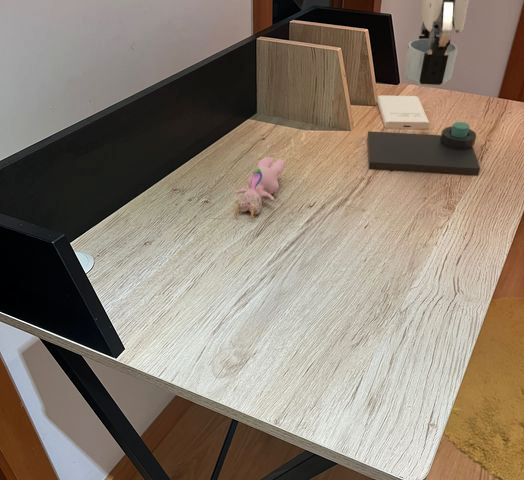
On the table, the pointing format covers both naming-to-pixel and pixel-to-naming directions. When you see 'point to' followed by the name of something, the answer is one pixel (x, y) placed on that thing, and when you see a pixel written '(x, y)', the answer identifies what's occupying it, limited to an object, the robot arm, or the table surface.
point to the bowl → (416, 60)
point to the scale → (423, 152)
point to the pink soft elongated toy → (260, 186)
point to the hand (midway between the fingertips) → (427, 73)
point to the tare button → (460, 129)
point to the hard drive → (402, 112)
